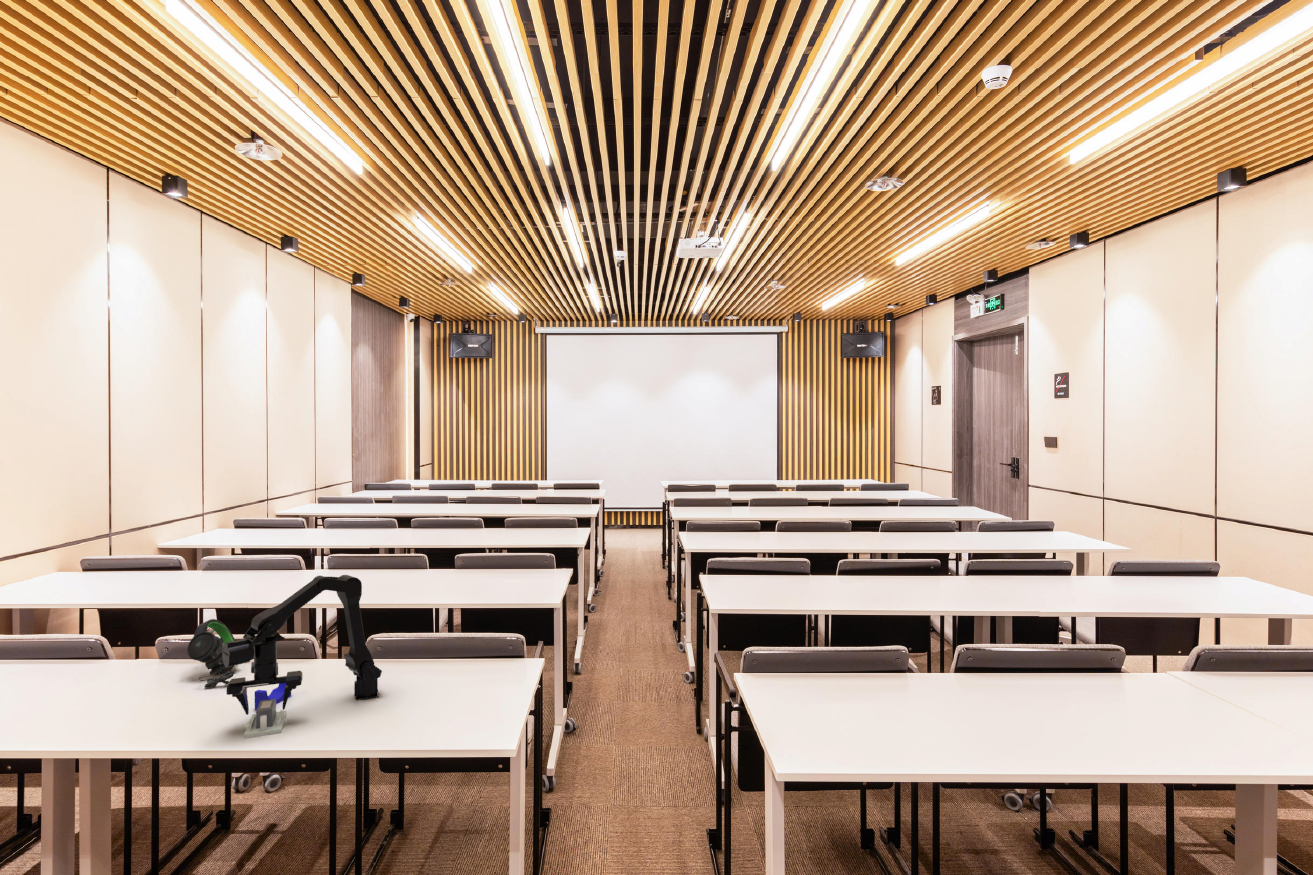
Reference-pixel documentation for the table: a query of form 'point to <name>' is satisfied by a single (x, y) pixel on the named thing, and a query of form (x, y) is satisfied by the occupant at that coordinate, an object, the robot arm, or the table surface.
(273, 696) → the cable clip
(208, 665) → the headset
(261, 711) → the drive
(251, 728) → the pegged rail plate
